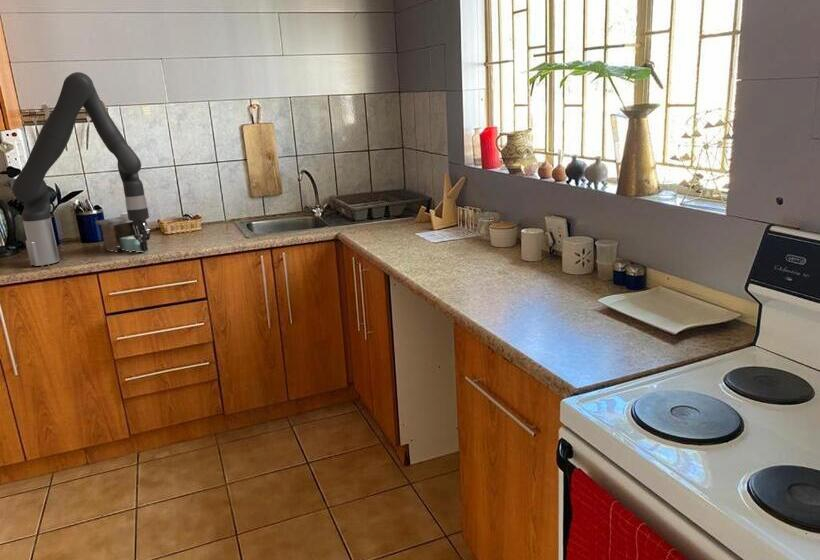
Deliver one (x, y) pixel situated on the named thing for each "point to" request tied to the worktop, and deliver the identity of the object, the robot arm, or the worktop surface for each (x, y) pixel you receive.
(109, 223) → the shelf
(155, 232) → the worktop surface
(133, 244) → the caddy
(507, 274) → the worktop surface
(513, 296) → the worktop surface
